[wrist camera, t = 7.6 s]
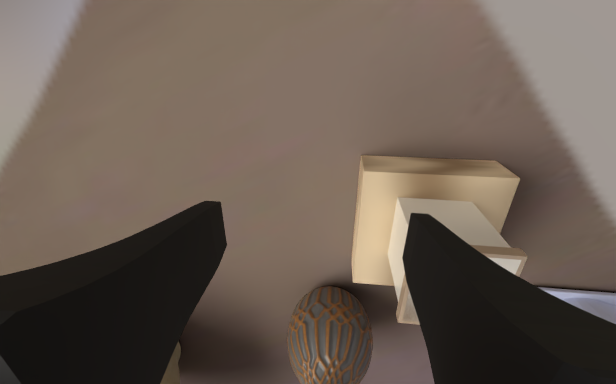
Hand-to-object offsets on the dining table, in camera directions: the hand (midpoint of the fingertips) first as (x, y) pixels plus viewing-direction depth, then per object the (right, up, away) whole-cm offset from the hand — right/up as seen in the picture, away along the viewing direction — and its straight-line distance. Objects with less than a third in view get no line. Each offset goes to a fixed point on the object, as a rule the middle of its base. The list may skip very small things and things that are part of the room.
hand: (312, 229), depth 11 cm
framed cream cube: (+8, -1, +8) cm, 11 cm away
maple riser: (+8, 0, +11) cm, 13 cm away
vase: (+2, -9, +16) cm, 18 cm away
